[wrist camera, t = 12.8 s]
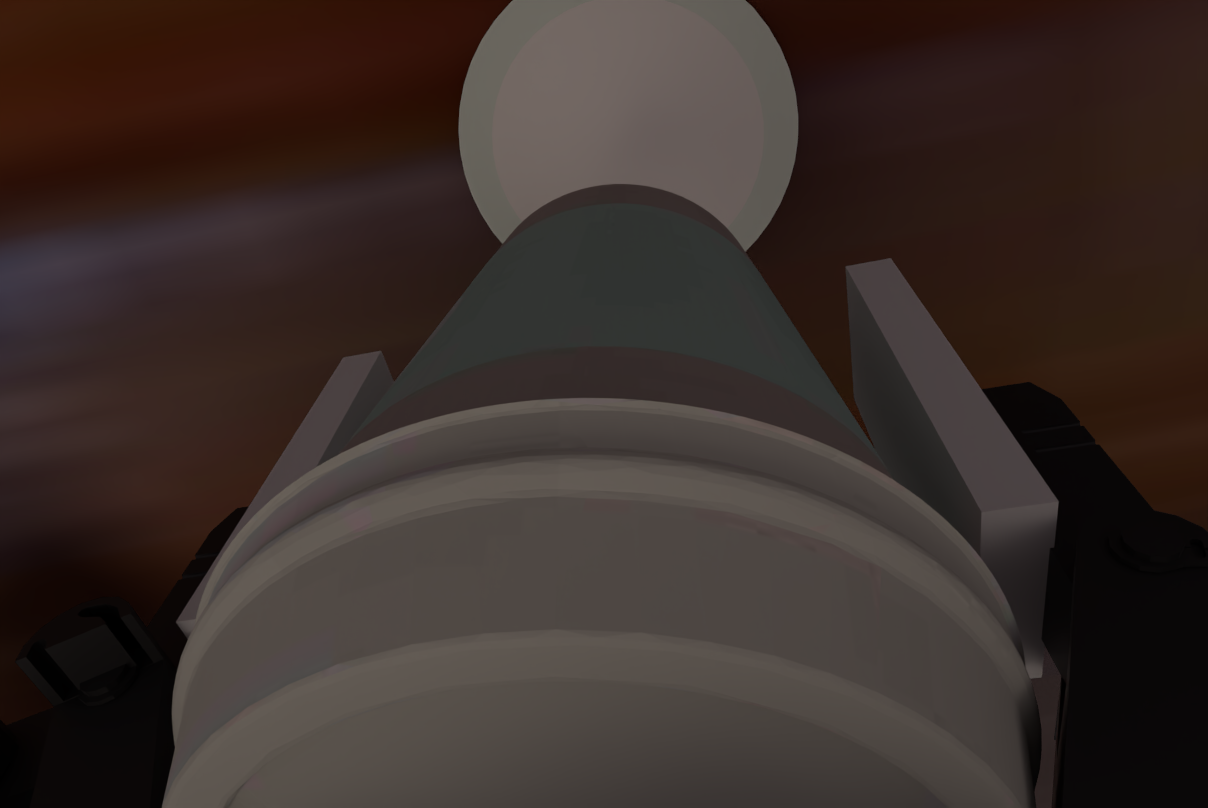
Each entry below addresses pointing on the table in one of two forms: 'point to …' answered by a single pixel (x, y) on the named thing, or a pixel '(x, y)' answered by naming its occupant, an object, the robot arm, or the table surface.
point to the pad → (629, 108)
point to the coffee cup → (605, 569)
